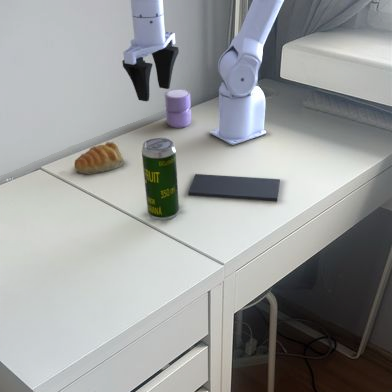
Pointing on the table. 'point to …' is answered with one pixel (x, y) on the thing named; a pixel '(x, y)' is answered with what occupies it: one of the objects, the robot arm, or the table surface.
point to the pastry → (99, 159)
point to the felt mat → (235, 187)
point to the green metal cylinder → (160, 178)
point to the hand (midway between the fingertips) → (154, 94)
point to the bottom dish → (178, 118)
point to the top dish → (177, 100)
